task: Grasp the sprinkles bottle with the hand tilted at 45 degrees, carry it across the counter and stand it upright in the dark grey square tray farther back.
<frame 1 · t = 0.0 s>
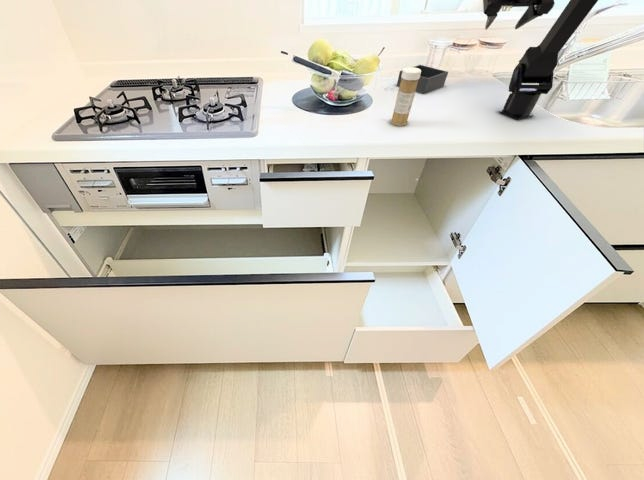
hand: (500, 28, 105), 15 cm above the countertop, tool tilted 35°, fingers open, 9 cm apart
dark grey square tray: (419, 86, 113), on the countertop
sprinkles bottle: (398, 123, 93), on the countertop
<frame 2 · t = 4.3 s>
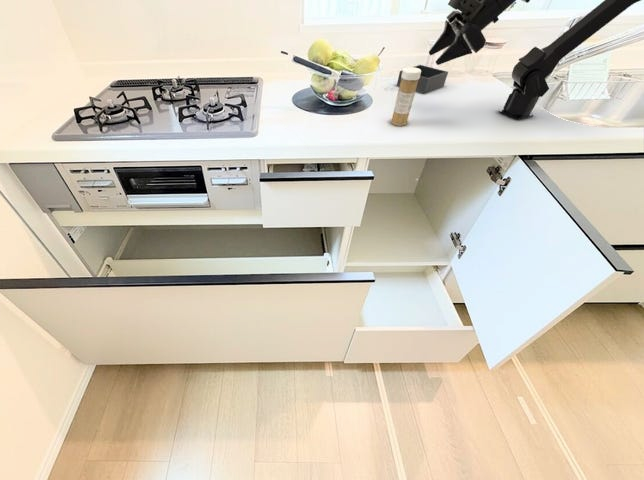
hand: (432, 58, 88), 14 cm above the countertop, tool tilted 45°, fingers open, 9 cm apart
nothing on the countertop moved.
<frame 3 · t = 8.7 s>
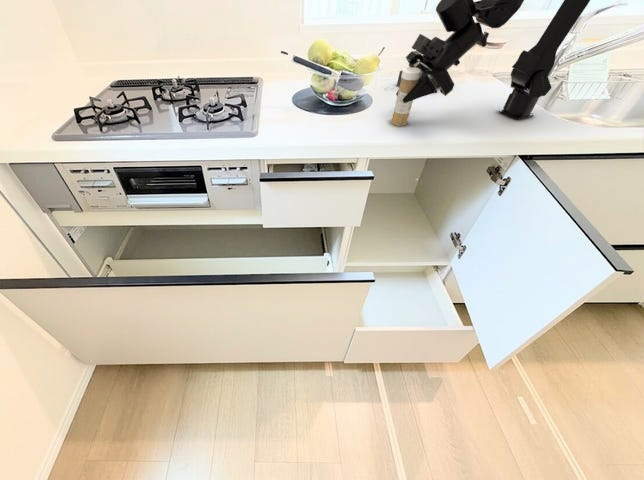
hand: (399, 98, 88), 7 cm above the countertop, tool tilted 45°, fingers closed on sprinkles bottle, 4 cm apart
sprinkles bottle: (398, 123, 93), on the countertop, touching gripper
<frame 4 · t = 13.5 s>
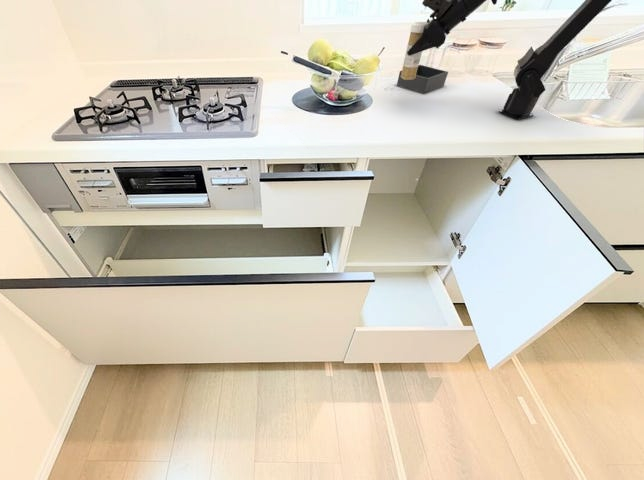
hand: (408, 52, 94), 13 cm above the countertop, tool tilted 45°, fingers closed on sprinkles bottle, 4 cm apart
sprinkles bottle: (407, 78, 99), point 7 cm above the countertop, touching gripper
when the fingers open (7 cm above the countertop, at t = 18.4 s): sprinkles bottle stays where it is, resting on dark grey square tray.
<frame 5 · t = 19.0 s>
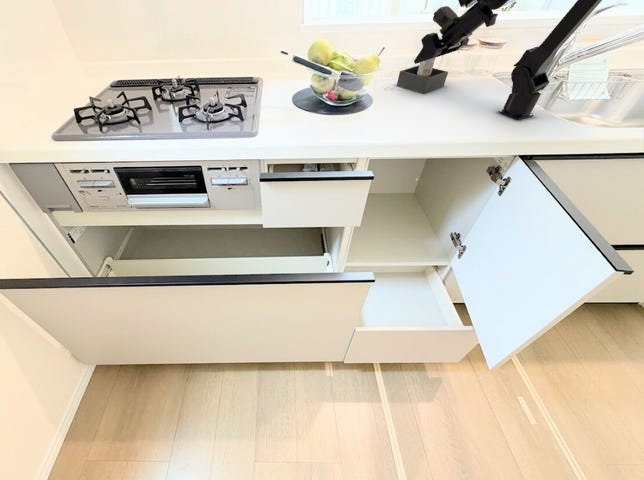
hand: (423, 59, 108), 8 cm above the countertop, tool tilted 45°, fingers open, 9 cm apart
sprinkles bottle: (420, 85, 113), resting on dark grey square tray
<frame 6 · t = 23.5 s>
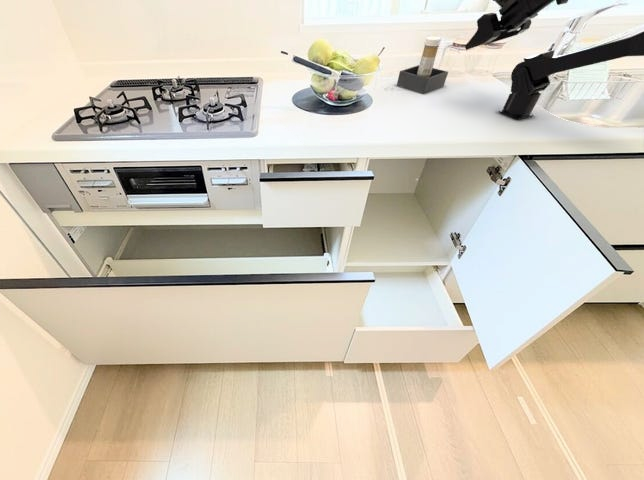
hand: (475, 45, 96), 14 cm above the countertop, tool tilted 45°, fingers open, 9 cm apart
nothing on the countertop moved.
at the end: sprinkles bottle inside the target area in the dark grey square tray (0.2 cm from its centre), point 0.3 cm above the dark grey square tray's base; sprinkles bottle tilted 0° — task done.
